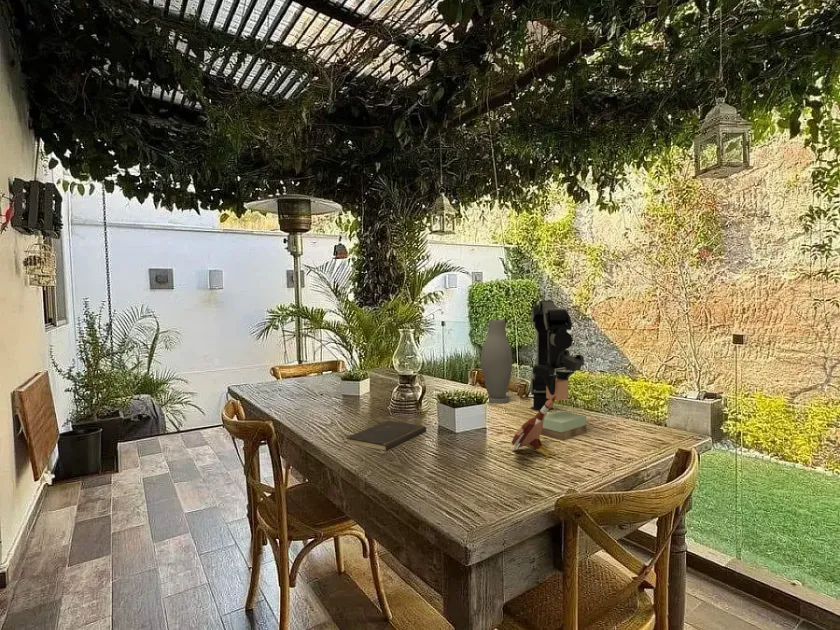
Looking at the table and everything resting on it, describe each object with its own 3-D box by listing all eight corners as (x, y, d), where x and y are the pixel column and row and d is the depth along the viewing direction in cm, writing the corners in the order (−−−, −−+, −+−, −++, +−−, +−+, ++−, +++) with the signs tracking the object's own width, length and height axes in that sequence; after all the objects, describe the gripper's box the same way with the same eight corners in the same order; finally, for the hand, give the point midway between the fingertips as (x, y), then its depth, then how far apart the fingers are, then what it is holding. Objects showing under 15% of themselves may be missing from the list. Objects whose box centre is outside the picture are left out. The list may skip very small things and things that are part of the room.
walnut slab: (560, 427, 161) (560, 419, 161) (586, 433, 153) (586, 424, 153) (536, 435, 153) (536, 426, 153) (562, 442, 145) (562, 432, 145)
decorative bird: (566, 464, 115) (542, 406, 117) (501, 480, 124) (480, 426, 126) (586, 433, 140) (566, 386, 142) (531, 449, 148) (513, 404, 151)
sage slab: (560, 419, 161) (560, 410, 161) (585, 424, 153) (585, 415, 153) (536, 426, 153) (536, 416, 153) (562, 432, 145) (561, 423, 145)
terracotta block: (555, 396, 158) (555, 378, 158) (568, 398, 154) (568, 380, 154) (546, 398, 155) (546, 380, 155) (559, 400, 151) (559, 382, 151)
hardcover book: (345, 444, 147) (345, 437, 147) (388, 426, 167) (388, 420, 167) (386, 452, 139) (386, 445, 139) (426, 433, 158) (426, 426, 158)
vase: (481, 404, 196) (479, 321, 195) (482, 397, 209) (480, 319, 208) (513, 404, 194) (511, 320, 193) (512, 397, 207) (510, 319, 206)
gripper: (560, 350, 142) (561, 401, 143) (594, 346, 154) (594, 393, 154) (531, 348, 151) (532, 396, 151) (565, 344, 163) (565, 389, 163)
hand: (557, 393), depth 155 cm, fingers closed on terracotta block, 5 cm apart
